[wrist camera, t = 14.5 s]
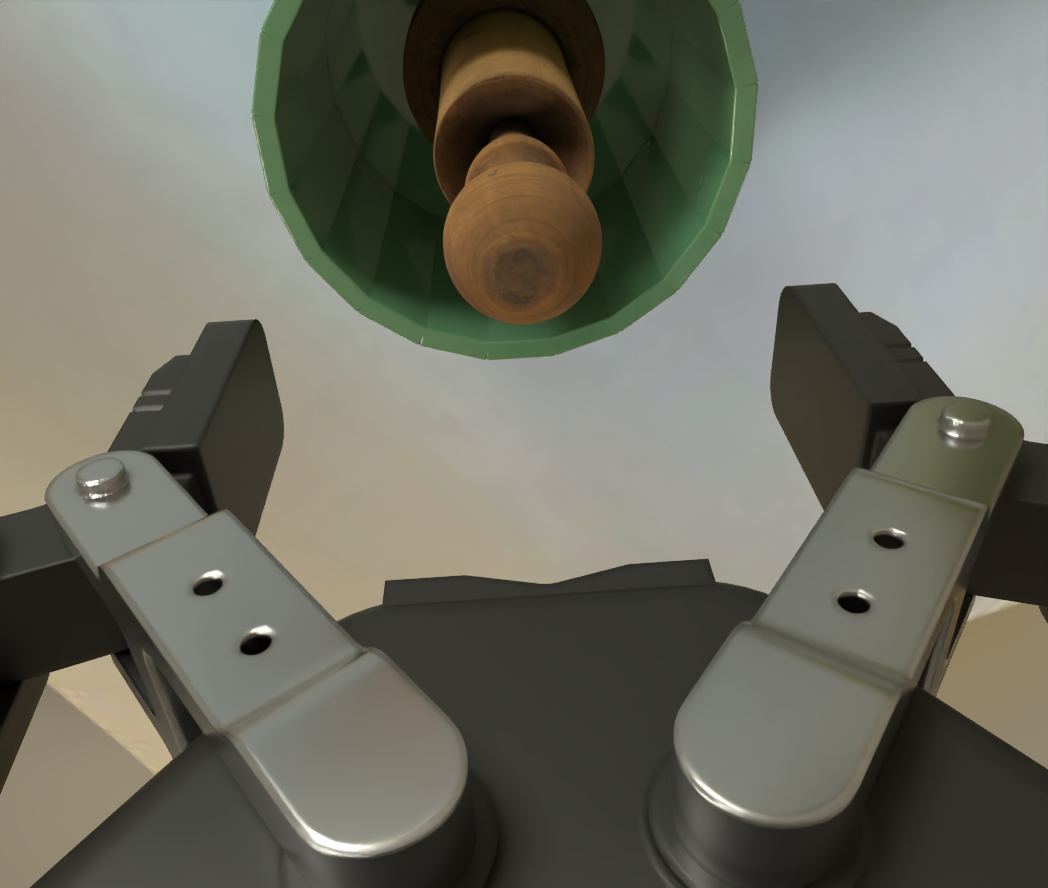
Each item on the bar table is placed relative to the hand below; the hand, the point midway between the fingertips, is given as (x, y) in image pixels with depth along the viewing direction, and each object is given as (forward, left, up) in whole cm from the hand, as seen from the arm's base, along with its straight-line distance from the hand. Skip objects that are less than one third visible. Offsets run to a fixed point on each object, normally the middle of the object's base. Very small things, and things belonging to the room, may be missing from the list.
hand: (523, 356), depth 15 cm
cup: (0, 0, -21) cm, 21 cm away
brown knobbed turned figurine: (0, 0, -21) cm, 21 cm away
